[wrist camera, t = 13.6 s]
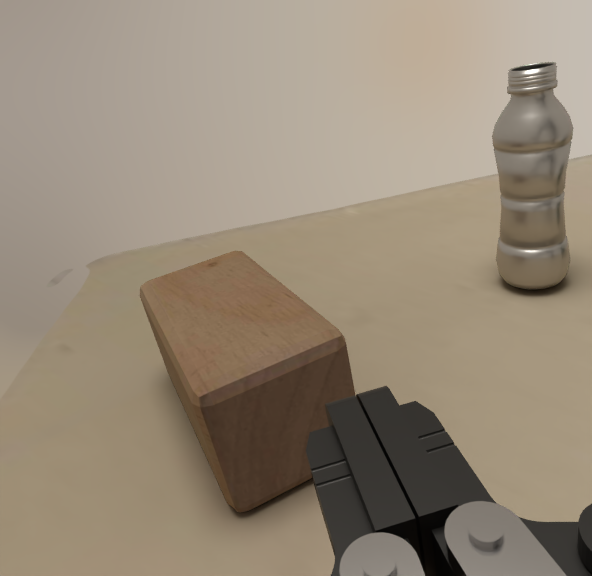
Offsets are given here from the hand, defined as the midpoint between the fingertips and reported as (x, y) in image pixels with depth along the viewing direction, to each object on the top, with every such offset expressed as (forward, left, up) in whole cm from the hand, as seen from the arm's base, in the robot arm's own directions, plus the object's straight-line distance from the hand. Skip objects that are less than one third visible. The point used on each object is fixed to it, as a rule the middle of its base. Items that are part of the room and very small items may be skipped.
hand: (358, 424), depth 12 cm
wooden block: (+9, -13, -13) cm, 20 cm away
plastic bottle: (-6, -41, -18) cm, 45 cm away
